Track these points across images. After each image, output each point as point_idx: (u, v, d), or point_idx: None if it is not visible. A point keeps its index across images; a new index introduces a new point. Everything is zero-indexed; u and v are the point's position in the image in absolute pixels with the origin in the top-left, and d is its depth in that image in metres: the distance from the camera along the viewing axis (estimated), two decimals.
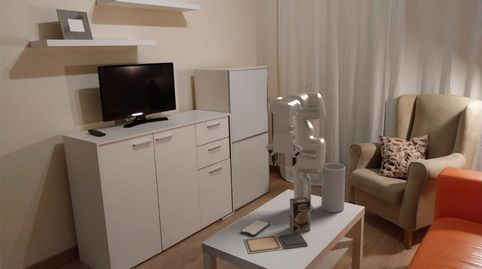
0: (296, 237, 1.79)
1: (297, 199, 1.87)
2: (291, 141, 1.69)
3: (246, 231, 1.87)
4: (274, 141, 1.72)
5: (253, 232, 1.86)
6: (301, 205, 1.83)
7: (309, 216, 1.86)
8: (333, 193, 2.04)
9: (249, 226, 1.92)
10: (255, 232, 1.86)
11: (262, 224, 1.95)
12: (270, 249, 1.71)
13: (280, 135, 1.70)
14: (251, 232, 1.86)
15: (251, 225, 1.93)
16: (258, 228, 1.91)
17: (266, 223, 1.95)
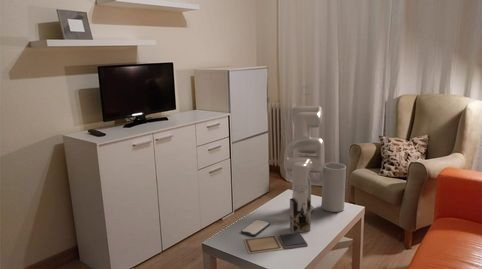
0: (296, 237, 1.79)
1: None
2: None
3: (246, 231, 1.87)
4: (306, 200, 1.82)
5: (254, 232, 1.86)
6: None
7: (309, 216, 1.86)
8: (333, 192, 2.04)
9: (249, 226, 1.92)
10: (255, 232, 1.86)
11: (262, 224, 1.95)
12: (270, 249, 1.71)
13: None
14: (251, 232, 1.86)
15: (251, 225, 1.94)
16: (258, 227, 1.91)
17: (266, 223, 1.95)
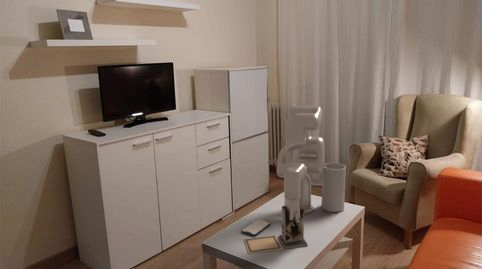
0: None
1: None
2: None
3: (247, 231, 1.87)
4: (299, 208, 1.70)
5: (254, 232, 1.86)
6: None
7: (302, 225, 1.74)
8: (333, 192, 2.04)
9: (250, 226, 1.93)
10: (256, 232, 1.86)
11: (263, 223, 1.95)
12: (270, 249, 1.71)
13: None
14: (252, 232, 1.86)
15: (252, 225, 1.94)
16: (259, 227, 1.91)
17: (267, 223, 1.96)
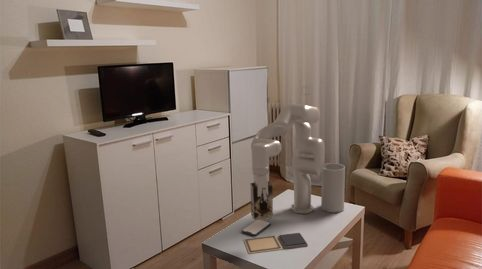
0: (296, 237, 1.79)
1: None
2: None
3: (247, 231, 1.87)
4: (267, 184, 1.66)
5: (254, 231, 1.86)
6: None
7: (271, 202, 1.69)
8: (333, 193, 2.04)
9: (250, 226, 1.93)
10: (256, 232, 1.86)
11: (263, 223, 1.95)
12: (270, 249, 1.71)
13: None
14: (252, 232, 1.86)
15: (252, 225, 1.94)
16: (259, 227, 1.91)
17: (267, 223, 1.96)
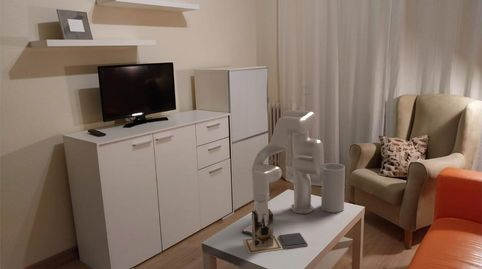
0: (296, 237, 1.79)
1: None
2: None
3: (247, 231, 1.88)
4: None
5: None
6: (262, 219, 1.70)
7: (272, 230, 1.73)
8: (333, 193, 2.03)
9: (250, 226, 1.93)
10: None
11: None
12: (270, 249, 1.71)
13: None
14: None
15: None
16: None
17: None
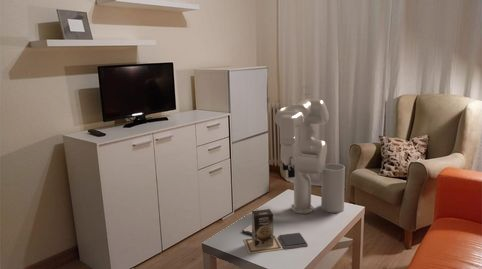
0: (296, 237, 1.79)
1: (259, 211, 1.74)
2: None
3: (247, 230, 1.88)
4: (294, 153, 1.77)
5: None
6: (262, 219, 1.70)
7: (272, 230, 1.73)
8: (333, 193, 2.04)
9: (251, 225, 1.93)
10: None
11: None
12: (270, 249, 1.71)
13: None
14: None
15: None
16: None
17: None
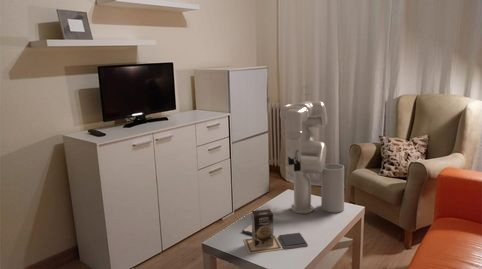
0: (296, 237, 1.79)
1: (259, 211, 1.74)
2: None
3: (248, 230, 1.88)
4: (300, 147, 1.80)
5: None
6: (262, 219, 1.70)
7: (272, 230, 1.73)
8: (333, 193, 2.04)
9: (251, 225, 1.93)
10: None
11: None
12: (270, 249, 1.71)
13: None
14: None
15: None
16: None
17: None
